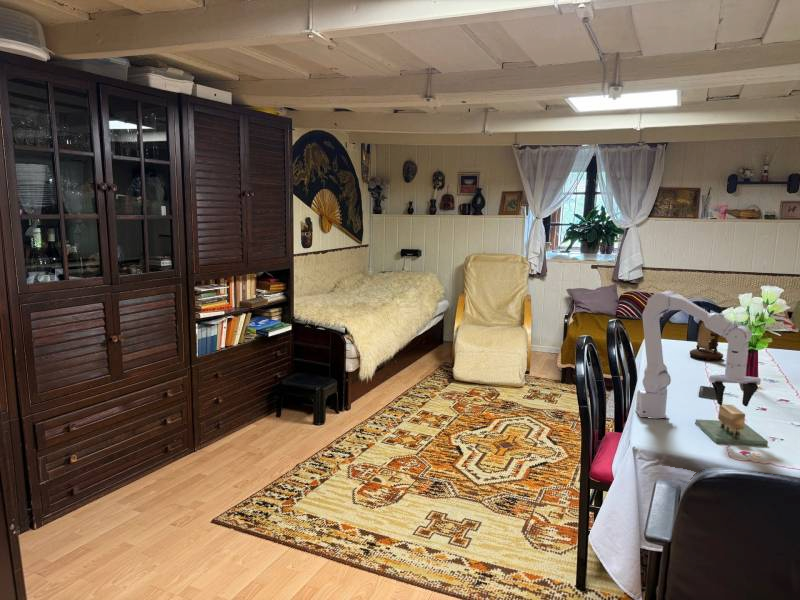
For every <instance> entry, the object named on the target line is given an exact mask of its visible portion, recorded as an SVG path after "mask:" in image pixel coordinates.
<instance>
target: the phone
mask: <svg viewBox="0 0 800 600" xmlns="http://www.w3.org/2000/svg"><path fill="white" fill-rule="evenodd" d="M698 397H699V398H702V399H707V398H708V399H707V400H714V399H716V400H715V401H717V397H716V393H715V390H714V387H713V386H705V385H700V386H699V391H698Z"/></svg>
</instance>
